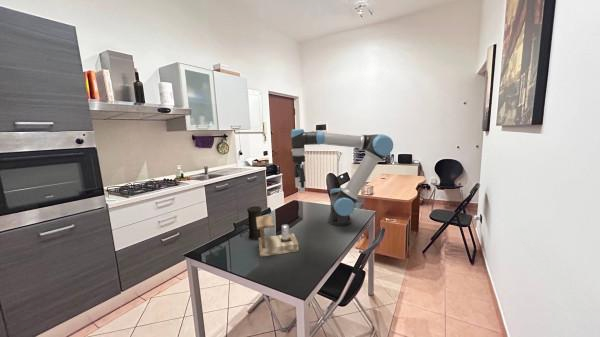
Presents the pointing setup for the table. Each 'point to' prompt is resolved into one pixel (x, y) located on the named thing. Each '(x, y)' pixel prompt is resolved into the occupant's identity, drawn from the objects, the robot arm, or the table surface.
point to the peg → (285, 233)
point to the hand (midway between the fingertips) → (300, 190)
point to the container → (254, 222)
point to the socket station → (274, 239)
